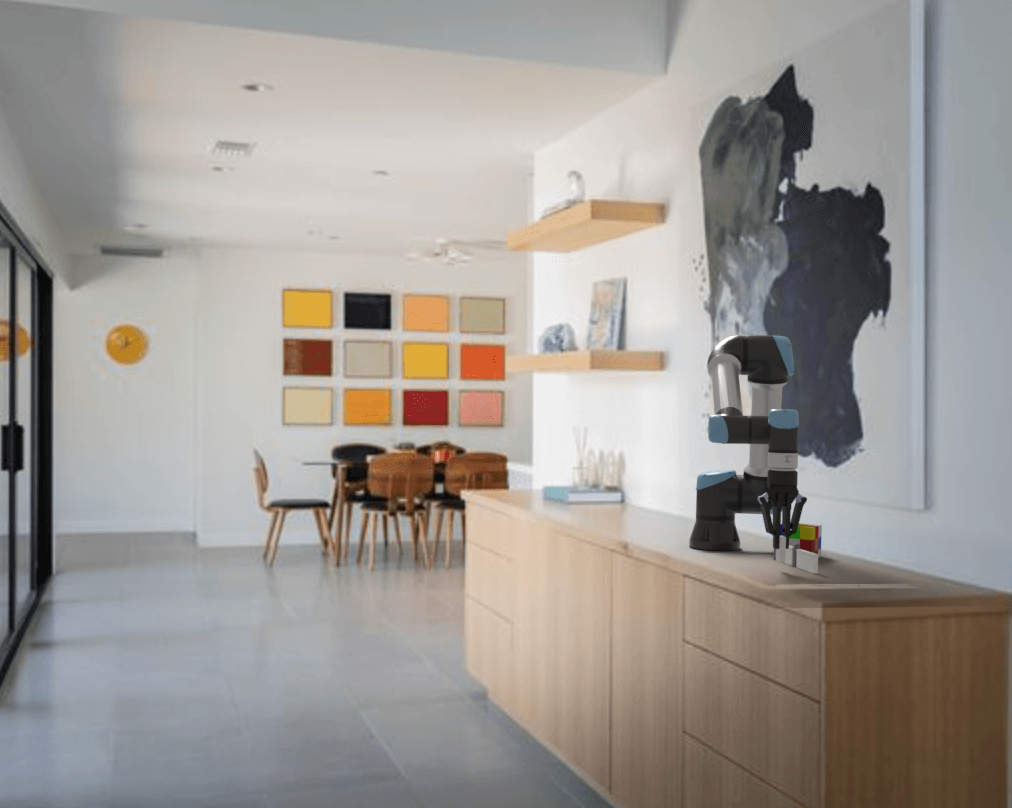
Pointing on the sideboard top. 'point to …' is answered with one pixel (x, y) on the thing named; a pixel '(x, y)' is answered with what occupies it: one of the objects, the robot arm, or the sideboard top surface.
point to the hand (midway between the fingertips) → (780, 561)
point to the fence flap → (807, 561)
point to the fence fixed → (790, 555)
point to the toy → (807, 537)
